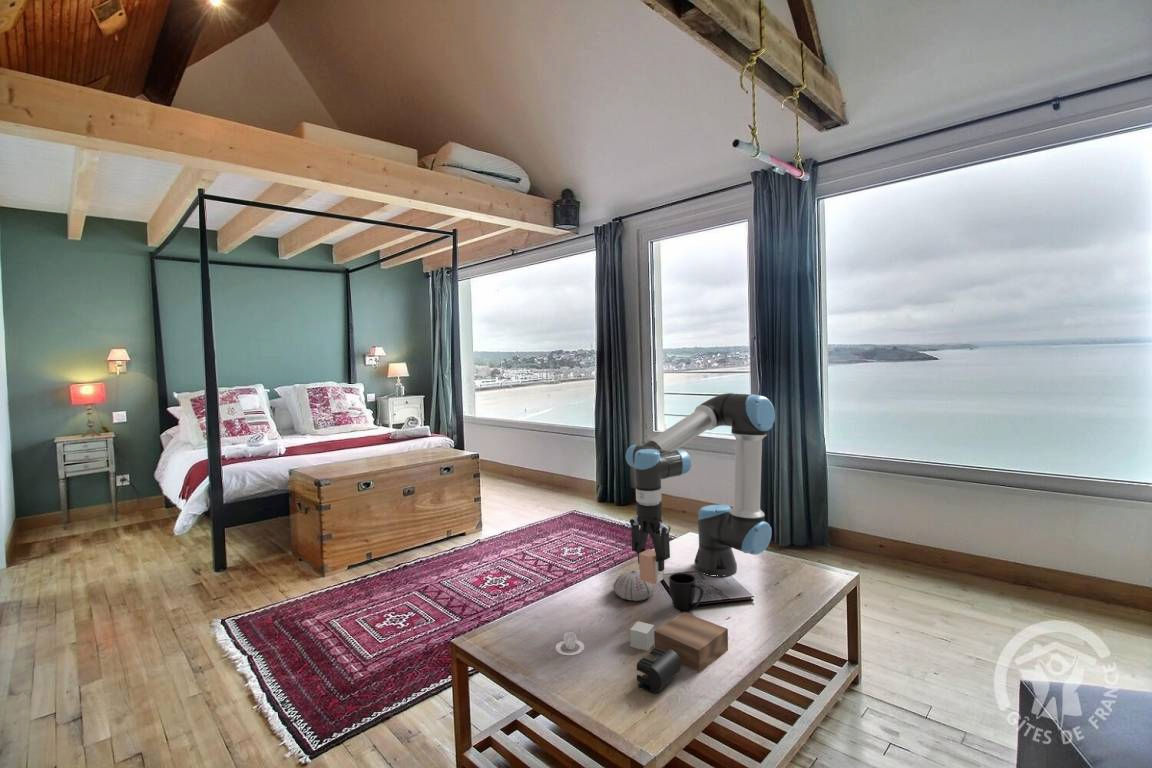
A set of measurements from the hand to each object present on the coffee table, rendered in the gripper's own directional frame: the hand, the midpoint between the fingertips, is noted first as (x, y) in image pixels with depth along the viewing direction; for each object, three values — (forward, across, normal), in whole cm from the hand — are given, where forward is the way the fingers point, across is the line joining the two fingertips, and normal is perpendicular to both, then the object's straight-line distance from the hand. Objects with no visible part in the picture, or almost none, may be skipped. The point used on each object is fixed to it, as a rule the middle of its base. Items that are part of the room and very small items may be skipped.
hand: (651, 577), depth 166 cm
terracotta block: (0, 0, 0) cm, 0 cm away
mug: (+14, +4, +12) cm, 19 cm away
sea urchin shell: (+14, -15, +10) cm, 23 cm away
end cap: (+13, +20, -24) cm, 34 cm away
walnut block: (+13, +18, -6) cm, 23 cm away
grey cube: (+13, +6, -12) cm, 19 cm away
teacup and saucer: (+14, -7, -24) cm, 29 cm away
